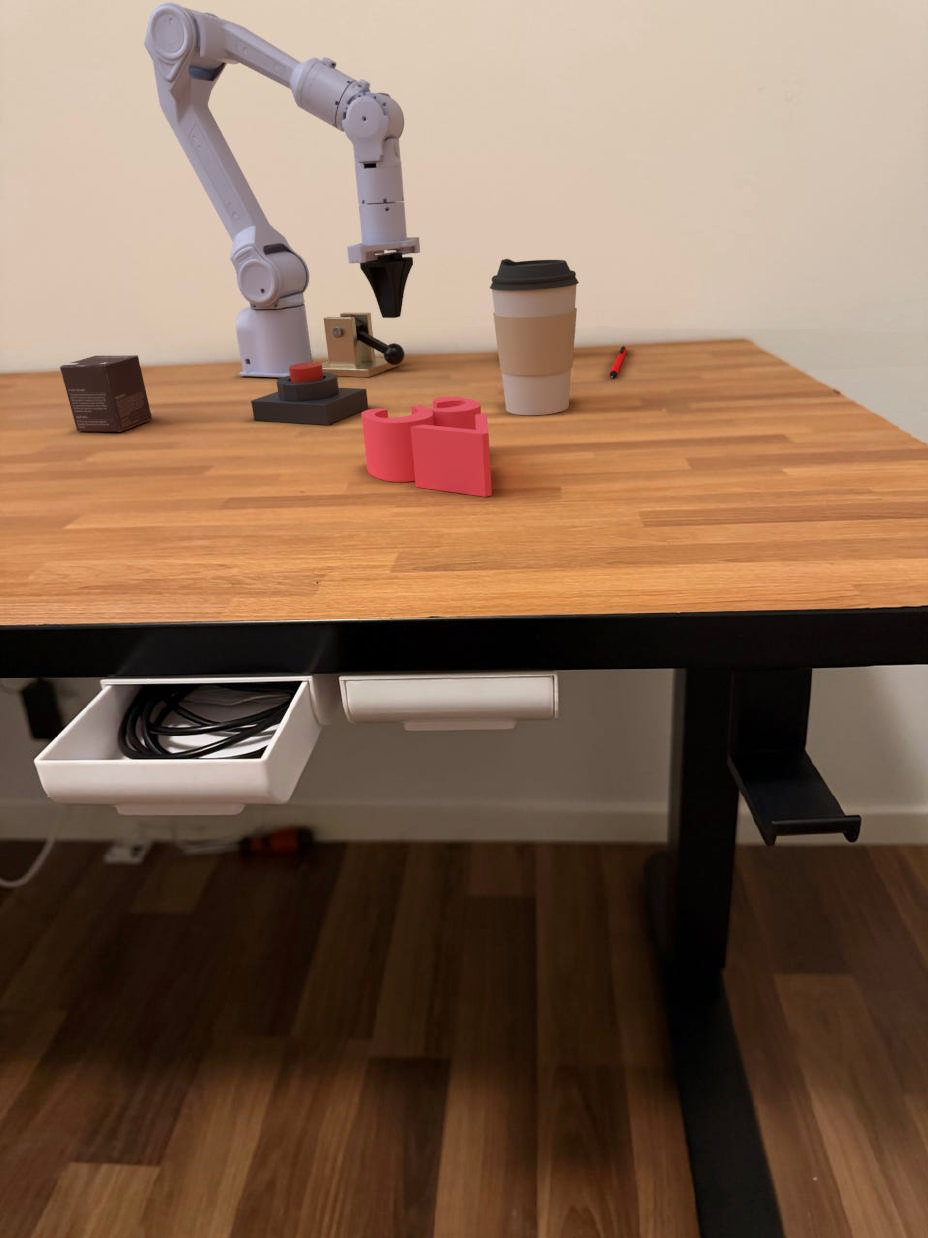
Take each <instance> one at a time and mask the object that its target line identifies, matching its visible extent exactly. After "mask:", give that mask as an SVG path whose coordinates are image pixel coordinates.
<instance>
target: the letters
mask: <svg viewBox="0 0 928 1238" xmlns="http://www.w3.org/2000/svg"><path fill="white" fill-rule="evenodd" d="M410 410H411V414H410V415H404V416H399V417H397V416H396V417H389V411H388V408H370V409H365V410H363V411H361V412H360V415H361V424H362V432H363V433H362V434H363V442H364V443H363V444H364V452H365V461H366V470H367V473H368V474H369V475H370V476H372V477H373V478H376V479H379V480H382V481H386V482H391V483H392V482H393V483H394V482H395V483H406V482H415V487H416V488H420V489H429V490H434V491H435V490H436V491H441V492H448V493H449V492H450V493H455V494H464V495H469V496H476V497H482V498H483V497H484V498H485V497H486V498H487V497H491V496H492V495H493V493H492V473H491V453H490V451H491V450H490V432H489V423H488V413H487V412H482V407H481V402H479V401H477V400H475V399H473V398H468V397H463V396H462V397H461V396H442V397H441V396H440V397H436V398H434V399H432V407H426V406H424V405H421V404H417V405H412V406H410Z"/></svg>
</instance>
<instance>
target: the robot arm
mask: <svg viewBox="0 0 928 1238" xmlns="http://www.w3.org/2000/svg"><path fill="white" fill-rule="evenodd" d="M143 45H144V47H145V50H146V52H147V54H148V55H149V58H150V59H151V61H152V64H153V71H154V78H155V85H156V89H157V97H158V103H159V107H160V109H161V111H162V113H163V115H164V117H165V119H166V120H167V122H168V124H169V126H170V128H171V130H172V132H173V133H174V136H175V137H176V139H177V141H178V143H179V145H180V146H181V148H182V150H183V153H184V154H185V156H186V157H187V160H188V162H189V163H190V165H191V167H192V169H193V171H194V173H195V174H196V177H197V178H198V181H199V182H200V184H201V185H202V187H203V190H204V191H205V193H206V195H207V196H208V199H209V200H210V202H211V204H212V206H213V208H214V209H215V212H216V213H217V215H218V218H219V219H220V221H221V223H222V224H223V227H224V228H225V230H226V232H227V234H228V235H229V237H230V239H231V240H232V246H231V251H230V255H229V259H230V261H231V264H232V266H233V267H234V270H235V274H236V280H237V281H236V282H237V287H238V289H239V292H240V294H241V295H242V297H243V298H244V299H245V300H246V301H247V302H248V303H249V306H248V307H247V306H246V307H244V308H243V309H241V310H240V312H239V313H238V314H237V317H236V322H235V332H236V333H235V334H236V338H237V345H238V352H239V356H240V363H241V369H242V371H240V372H239V373H238V375H239V377H259V378H260V377H261V378H283V377H286V376H290V372H289V366H291V365H295V364H300V363H313V356H312V349H311V348H312V347H311V339H310V334H309V333H310V331H309V325H308V318H307V310H306V304H305V297H304V293H305V292H306V290H307V289H308V287H309V284H310V271H309V267H308V264H307V263H306V261H305V260H304V258H303V257H302V256H301V255H300V254H299V253H297V252H296V251H295V250H294V249H293V248H292V247H291V246H290V244H289V242H288V240H287V238H286V236H284V235H283V234H282V233H281V232H280V231H278V230H277V229H276V228H275V227H273V226H272V225H271V224H270V222H269V220H268V218H267V216H266V215H265V213H264V211H263V209H262V207H261V205H260V203H259V201H258V199H257V197H256V196H255V194H254V192H253V189H252V188H251V186H250V183H249V182H248V179H247V178H246V177H245V174H244V173H243V170H242V169H241V167H240V165H239V163H238V161H237V159H236V157H235V155H234V153H233V152H232V150H231V148H230V146H229V144H228V141H227V140H226V138H225V135H223V133H222V131H221V129H220V126H219V125H218V123H217V121H216V119H215V117H214V115H213V113H212V111H211V109H210V108H209V102H210V97H211V94H212V92H213V89H214V87H215V86H216V84H217V82H218V80H219V79H220V77H221V75H222V73H223V72H224V70H225V69H226V66H227V65H228V64H229V65H238V64H241V65H243V66H245V67H247V68H248V69H250V70H252V71H254V72H256V73H258V74H261V75H262V76H264V77H266V78H267V79H270V80H272V81H274V82H276V83H278V84H280V85H282V86H283V87H285V88H287V89H290V91H291V94H292V96H293V99H294V101H295V103H296V105H297V107H298V108H299V109H301V110H303V111H305V112H306V113H308V114H310V115H312V116H314V117H316V118H317V119H319V120H321V121H323V122H324V123H326V124H328V125H330V126H332V127H333V128H335V129H337V130H339V131H340V132H343V133H344V134H345V136H346V137H347V138H348V140H349V141H350V143H351V144H352V149H353V158H354V171H355V183H356V191H357V192H356V193H357V202H358V203H357V204H358V212H359V223H360V224H359V225H360V232H361V234H360V235H361V243H357V244H354V245H349V246H347V247H346V249H347V258H348V264H359V268H360V270H361V271H362V273H363V274H364V276H365V277H366V279H367V281H368V283H369V285H370V287H371V289H372V291H373V295H374V297H375V300H376V303H377V305H378V309H379V311H380V314H381V317H382V319H397V318H400V317H401V316H402V315H401V314H402V308H403V302H404V301H403V300H404V296H405V295H404V294H405V290H406V289H405V288H406V285H407V281H408V278H409V275H410V272H411V270H412V268H413V266H414V258H413V257H412V256H404V255H410V254H419V253H421V243H420V237H419V236H415V237H410V236H409V237H408V234H407V223H406V222H407V219H406V207H405V194H404V193H405V192H404V181H403V169H402V160H401V150H400V138H401V136H402V134H403V132H404V128H405V116H404V112H403V110H402V108H401V106H400V104H399V103H398V102H397V101H396V100H395V99H394V98H392V97H391V95H390V94H389V93H386V92H371V89H370V87H371V83H370V82H369V81H367V80H365V79H362V78H360V79H359V80H356V79H355V78H353V77H351V76H349V75H347V74H346V73H344V72H343V71H340V70H339V69H337V68H336V67H337V62H336V61H334V60H333V59H331V58H329V57H325V56H323V57H322V59H319V58H318V57H312V58H309V59H307V60H305V61H302V62H301V61H299V60H298V59H296V58H295V57H293V56H291V55H290V54H288V53H286V52H285V51H283V50H282V49H281V48H278V47H277V46H275V45H274V44H272V43H271V42H269V41H267V40H265V39H264V38H262V37H261V36H259V35H257V34H256V33H254V32H253V31H251V30H250V29H248V28H247V27H244V26H243V25H241V24H238V23H235V22H233V21H231V20H227V19H224V18H220V17H219V16H217V15H216V14H213V13H210V12H201V11H199V10H195V9H191V8H188V7H184V6H182V5H180V4H179V3H176V2H171V1H166V2H163V3H160V4H159V5H157V6H156V7H155V8H154V9H153V10H152V12H151V14H150V16H149V19H148V22H147V27H146V33H145V37H144V42H143ZM385 251H387V252H385ZM388 251H389V252H388Z"/></svg>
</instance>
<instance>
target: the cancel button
mask: <svg viewBox="0 0 928 1238" xmlns="http://www.w3.org/2000/svg"><path fill="white" fill-rule="evenodd" d="M321 363H322V362H312V363H300V364H295V365H291V366H289V372H290V379H291V382H310V381H316V380H321V379H324V377H323V369H322V364H321Z"/></svg>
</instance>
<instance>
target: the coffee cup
mask: <svg viewBox="0 0 928 1238" xmlns="http://www.w3.org/2000/svg"><path fill="white" fill-rule="evenodd" d="M576 274H577V273H576V271H574V270H571V269H570V267H569V265H568V262H567V260H565V259H535V260H522V261H520V260H519V261H514V260H511V259H510V258H505V259H501V261H500V263H499V267H498V270H497V274H496V275H493V276H492V277H491V284H490V286H489V289H490V290H491V293H492V301H493V302H492V303H493V309H494V312H493V313H492V314H493V322H494V323H493V324H494V330H495V339H496V346H497V353H498V354H497V355H498V360H499V361H498V363H499V370H500V372H501V378H502V386H503V393H504V395H503V396H504V403H505V411H506V412H507V413H510V414H513V415H517V416H541V415H542V416H544V415H552V414H557V413H560V412H563V411H566V410H567V409H569V407H570V392H571V375H572V369H573V364H574V354H575V353H574V351H575V339H576V325H577V313H578V312H577V310H578V308H577V307H576V300H577V285H578V284H580V282H579V280H578V278H577V277H576V276H577V275H576Z"/></svg>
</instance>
